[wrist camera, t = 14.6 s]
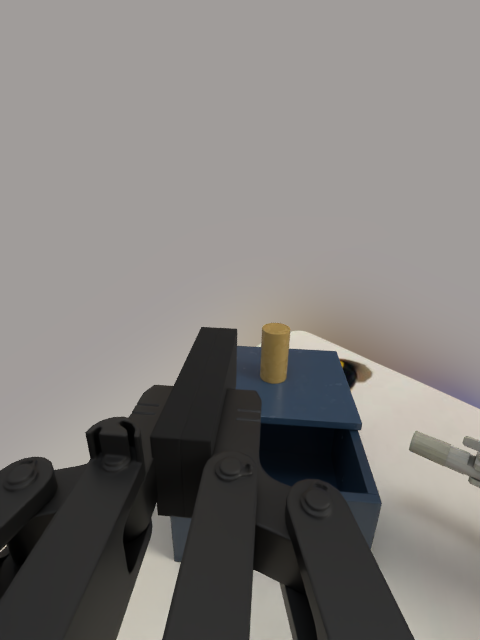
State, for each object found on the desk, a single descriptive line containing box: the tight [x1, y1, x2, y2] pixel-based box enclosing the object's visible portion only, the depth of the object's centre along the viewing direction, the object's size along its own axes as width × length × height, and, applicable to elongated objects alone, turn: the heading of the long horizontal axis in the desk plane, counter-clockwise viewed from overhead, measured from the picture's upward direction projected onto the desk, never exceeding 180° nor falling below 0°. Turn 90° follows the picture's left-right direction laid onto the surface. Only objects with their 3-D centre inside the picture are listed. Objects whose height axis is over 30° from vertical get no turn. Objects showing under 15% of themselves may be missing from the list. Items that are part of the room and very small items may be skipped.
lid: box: [236, 323, 362, 430], centre depth 38 cm, size 16×14×7 cm
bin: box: [170, 423, 382, 570], centre depth 34 cm, size 16×14×9 cm
